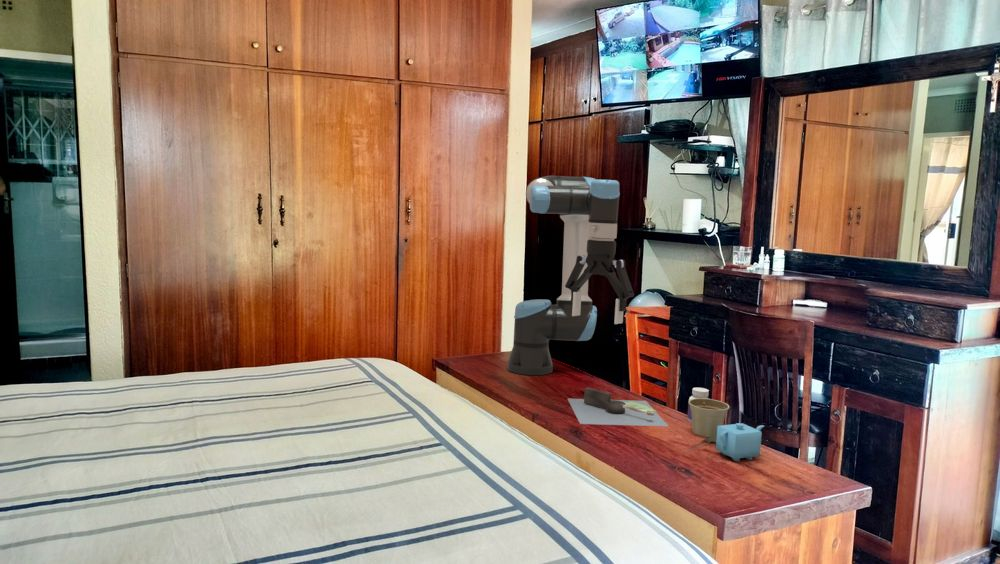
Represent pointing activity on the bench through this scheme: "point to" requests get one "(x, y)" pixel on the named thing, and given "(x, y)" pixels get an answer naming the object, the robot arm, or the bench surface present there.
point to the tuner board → (616, 414)
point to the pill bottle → (696, 394)
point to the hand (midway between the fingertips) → (596, 319)
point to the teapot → (739, 441)
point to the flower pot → (707, 417)
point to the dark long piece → (608, 402)
